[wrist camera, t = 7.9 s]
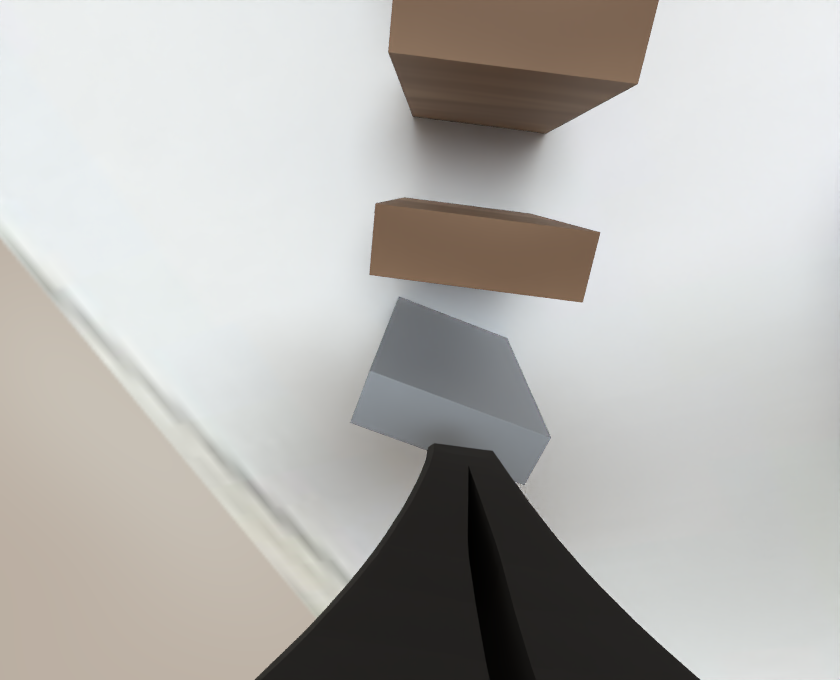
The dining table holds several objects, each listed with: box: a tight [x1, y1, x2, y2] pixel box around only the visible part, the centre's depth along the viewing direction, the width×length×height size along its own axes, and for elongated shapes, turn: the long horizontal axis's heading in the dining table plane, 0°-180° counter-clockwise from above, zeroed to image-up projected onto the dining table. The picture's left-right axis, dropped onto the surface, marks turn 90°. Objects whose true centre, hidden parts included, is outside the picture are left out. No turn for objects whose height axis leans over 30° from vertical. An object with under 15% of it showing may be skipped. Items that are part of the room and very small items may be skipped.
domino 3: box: [350, 297, 551, 485], centre depth 15 cm, size 2×5×8 cm, turn 69°
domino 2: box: [370, 197, 600, 302], centre depth 14 cm, size 2×5×8 cm, turn 83°
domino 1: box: [388, 0, 659, 133], centre depth 12 cm, size 2×5×8 cm, turn 83°
